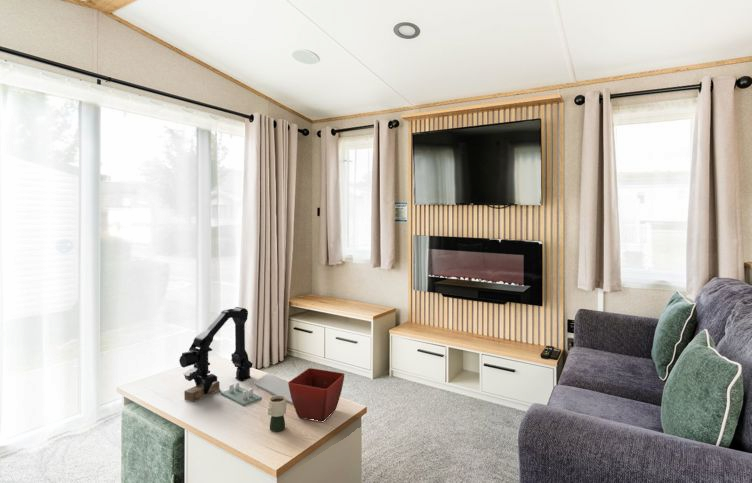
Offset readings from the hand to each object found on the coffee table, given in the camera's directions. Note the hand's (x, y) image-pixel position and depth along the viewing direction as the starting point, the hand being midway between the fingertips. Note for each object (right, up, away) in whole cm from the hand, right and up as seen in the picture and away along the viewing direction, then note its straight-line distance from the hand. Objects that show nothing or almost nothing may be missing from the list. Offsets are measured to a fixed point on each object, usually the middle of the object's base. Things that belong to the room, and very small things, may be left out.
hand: (202, 392), depth 200 cm
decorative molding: (+38, -2, +4) cm, 38 cm away
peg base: (+20, -2, -2) cm, 20 cm away
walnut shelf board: (0, -1, 0) cm, 1 cm away
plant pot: (+60, -3, -19) cm, 63 cm away
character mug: (+46, -3, -33) cm, 56 cm away
